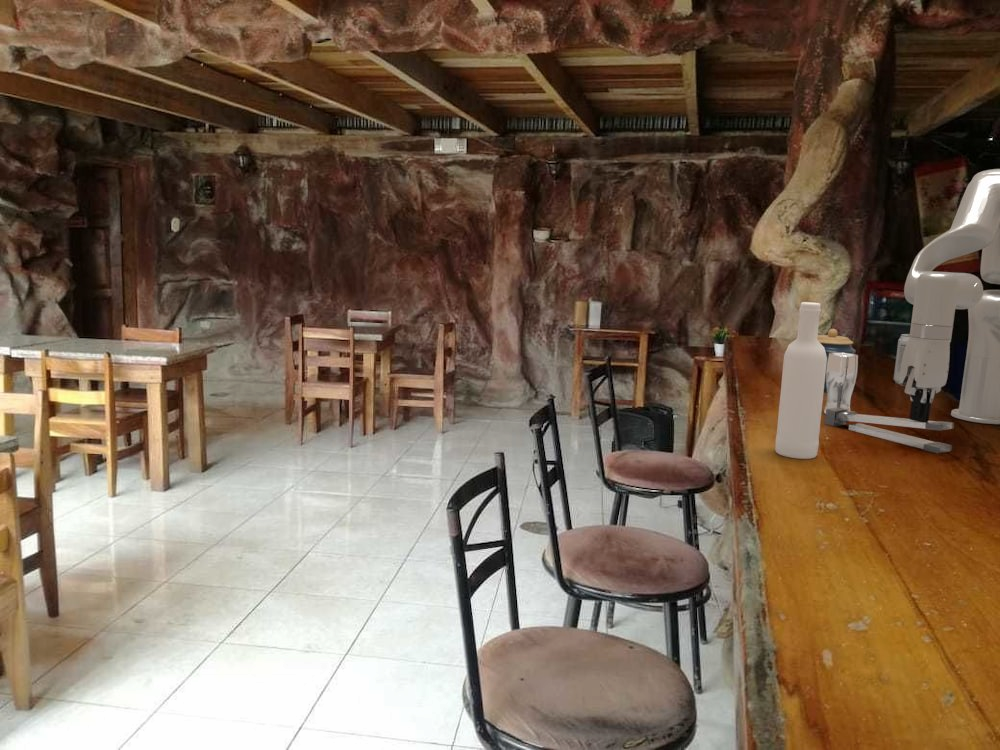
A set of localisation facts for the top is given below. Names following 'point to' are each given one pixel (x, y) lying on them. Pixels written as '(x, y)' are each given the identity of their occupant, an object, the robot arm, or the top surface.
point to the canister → (835, 345)
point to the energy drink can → (900, 355)
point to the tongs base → (887, 433)
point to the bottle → (802, 389)
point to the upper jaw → (892, 421)
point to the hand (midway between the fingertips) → (918, 420)
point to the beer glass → (840, 379)
